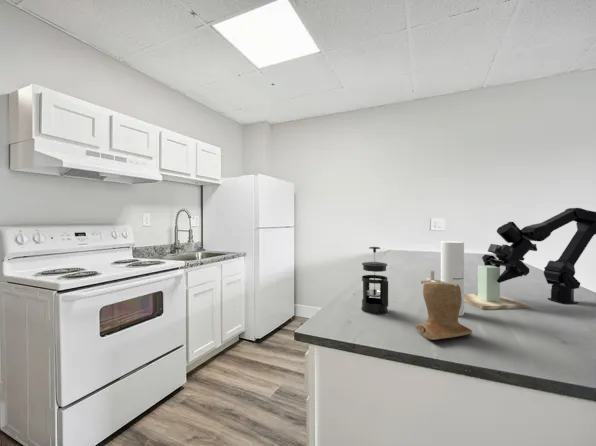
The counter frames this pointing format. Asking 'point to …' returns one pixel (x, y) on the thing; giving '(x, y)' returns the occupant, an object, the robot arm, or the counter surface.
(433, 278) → the beige crossed rods
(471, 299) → the post base
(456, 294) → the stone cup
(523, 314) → the counter surface
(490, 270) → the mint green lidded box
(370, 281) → the french press
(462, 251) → the cylindrical container
